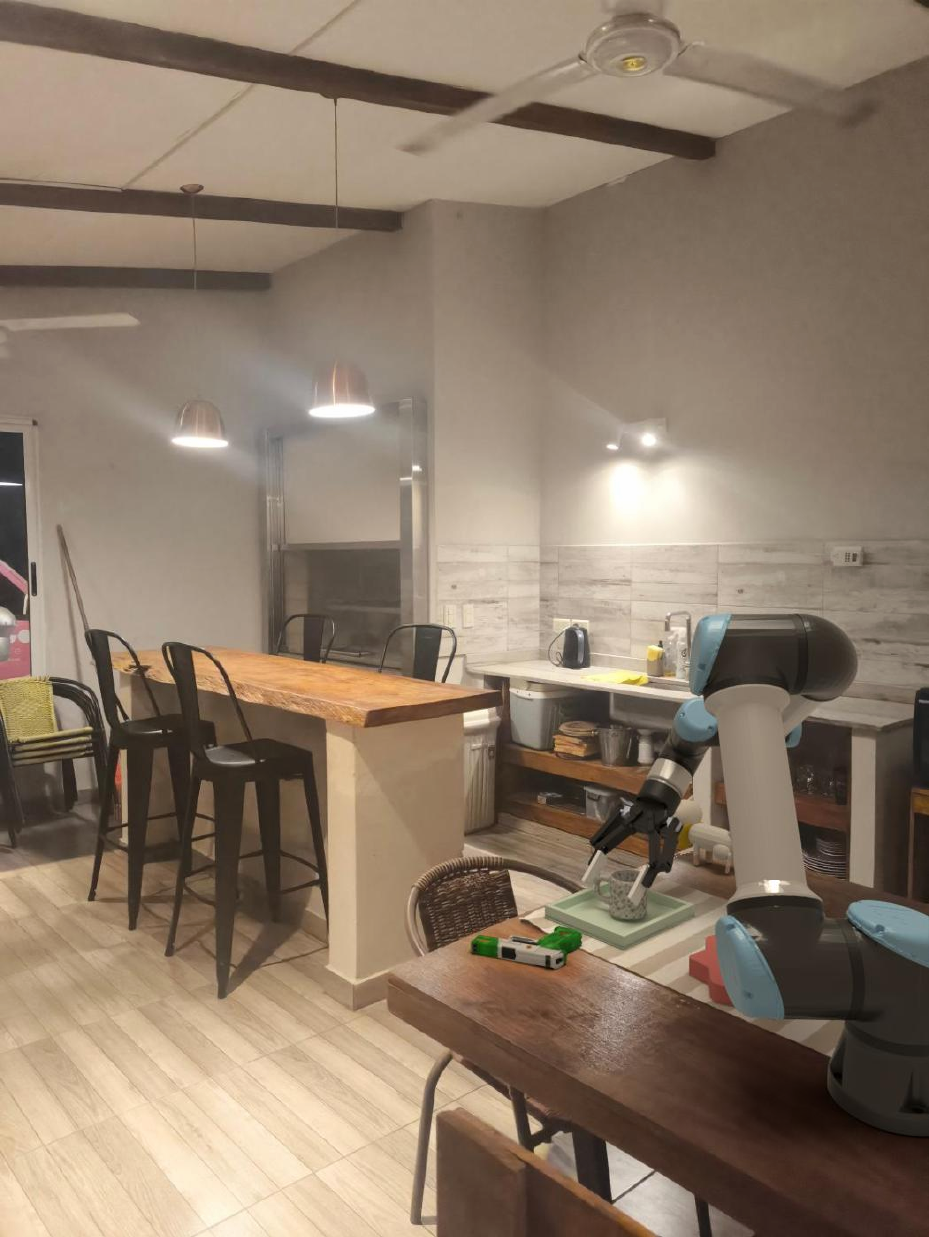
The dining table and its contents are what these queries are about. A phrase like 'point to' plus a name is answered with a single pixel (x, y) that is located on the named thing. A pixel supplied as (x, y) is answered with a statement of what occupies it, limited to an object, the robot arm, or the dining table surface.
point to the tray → (622, 933)
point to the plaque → (709, 971)
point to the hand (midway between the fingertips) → (608, 892)
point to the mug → (621, 894)
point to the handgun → (531, 947)
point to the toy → (702, 835)
